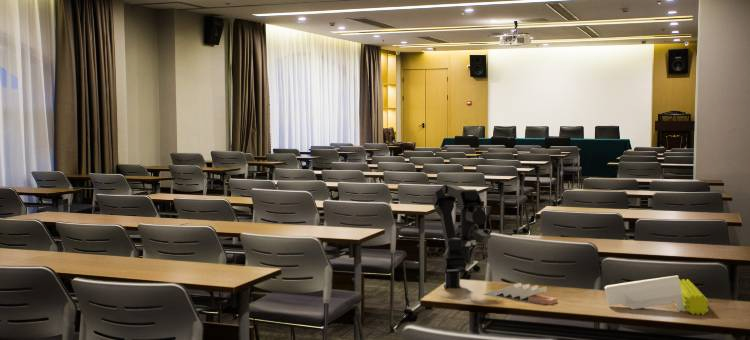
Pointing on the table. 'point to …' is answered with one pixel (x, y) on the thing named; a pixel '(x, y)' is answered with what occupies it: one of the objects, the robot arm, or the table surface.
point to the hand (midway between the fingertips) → (467, 263)
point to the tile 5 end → (542, 299)
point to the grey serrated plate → (509, 297)
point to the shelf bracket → (646, 293)
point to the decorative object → (693, 298)
